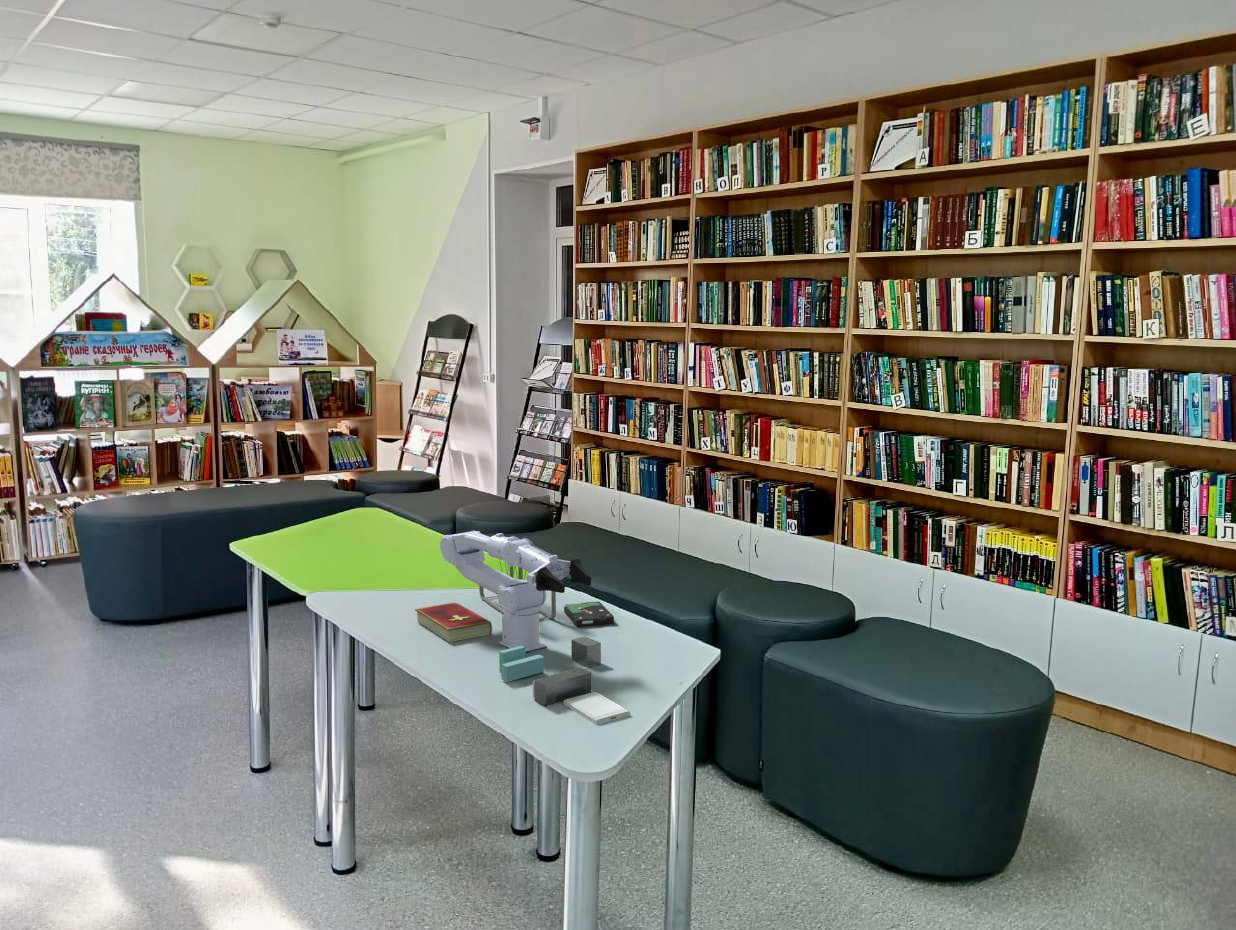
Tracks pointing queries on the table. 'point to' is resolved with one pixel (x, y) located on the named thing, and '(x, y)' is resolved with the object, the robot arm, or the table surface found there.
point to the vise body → (562, 686)
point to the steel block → (586, 651)
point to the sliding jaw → (519, 664)
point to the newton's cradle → (520, 577)
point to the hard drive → (596, 708)
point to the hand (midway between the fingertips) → (576, 585)
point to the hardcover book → (453, 622)
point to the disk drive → (588, 614)
